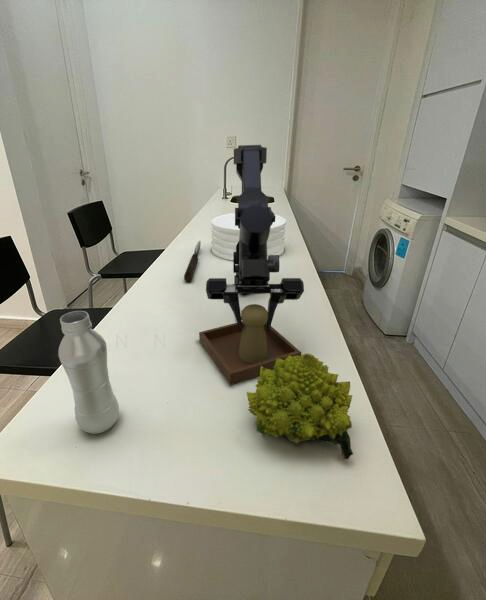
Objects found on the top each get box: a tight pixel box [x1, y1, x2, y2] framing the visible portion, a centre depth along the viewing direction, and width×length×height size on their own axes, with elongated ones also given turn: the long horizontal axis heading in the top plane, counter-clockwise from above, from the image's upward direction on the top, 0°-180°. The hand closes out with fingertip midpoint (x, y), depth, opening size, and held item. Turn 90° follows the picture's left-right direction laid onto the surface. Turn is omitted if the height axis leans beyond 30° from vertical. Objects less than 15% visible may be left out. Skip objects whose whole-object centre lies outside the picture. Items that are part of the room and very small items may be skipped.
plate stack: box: [210, 212, 287, 261], centre depth 128 cm, size 28×28×12 cm
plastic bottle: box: [57, 310, 120, 435], centre depth 49 cm, size 6×7×20 cm
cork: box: [238, 303, 268, 364], centre depth 65 cm, size 6×6×11 cm
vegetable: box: [246, 353, 354, 461], centre depth 51 cm, size 15×16×15 cm
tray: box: [198, 322, 302, 386], centre depth 69 cm, size 16×16×3 cm
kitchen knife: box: [183, 240, 201, 283], centre depth 118 cm, size 36×2×5 cm, turn 175°
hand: (254, 331), depth 64 cm, fingers closed on cork, 5 cm apart
